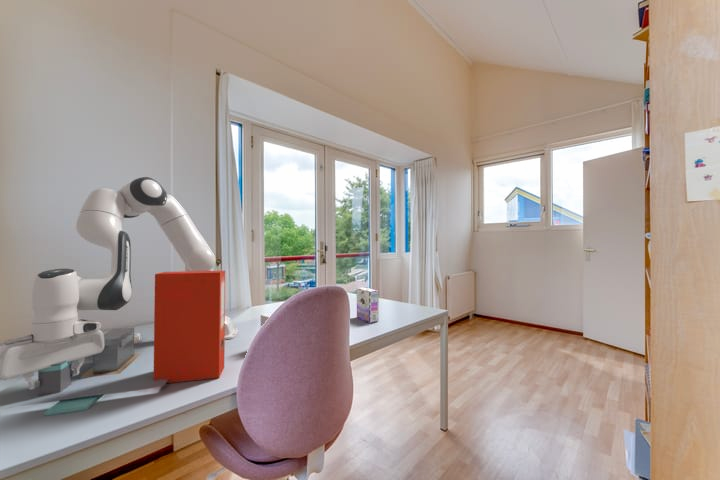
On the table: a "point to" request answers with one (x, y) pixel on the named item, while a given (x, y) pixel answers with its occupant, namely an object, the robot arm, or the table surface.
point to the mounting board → (90, 372)
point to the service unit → (115, 350)
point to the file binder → (189, 325)
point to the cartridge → (55, 378)
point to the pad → (73, 404)
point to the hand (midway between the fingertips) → (55, 381)
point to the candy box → (367, 304)
